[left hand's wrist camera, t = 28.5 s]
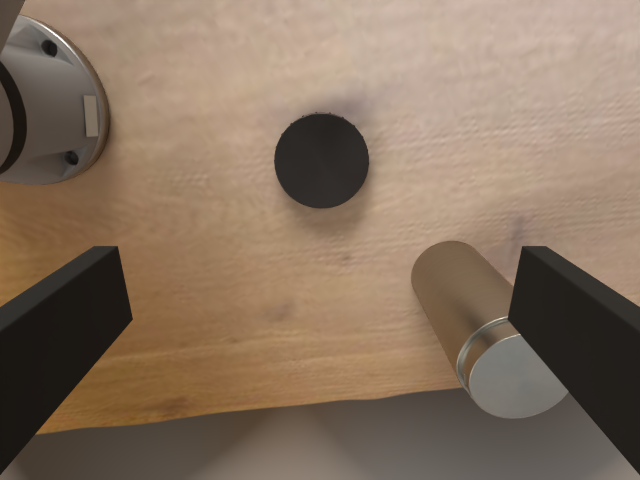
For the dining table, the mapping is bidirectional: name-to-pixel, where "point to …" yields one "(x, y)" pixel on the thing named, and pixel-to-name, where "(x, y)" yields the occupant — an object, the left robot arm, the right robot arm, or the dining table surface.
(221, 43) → the dining table surface
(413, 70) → the dining table surface
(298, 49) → the dining table surface
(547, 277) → the left robot arm
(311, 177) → the lid
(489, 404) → the jar
